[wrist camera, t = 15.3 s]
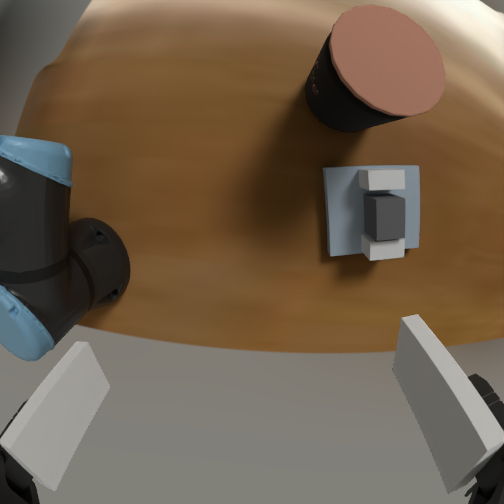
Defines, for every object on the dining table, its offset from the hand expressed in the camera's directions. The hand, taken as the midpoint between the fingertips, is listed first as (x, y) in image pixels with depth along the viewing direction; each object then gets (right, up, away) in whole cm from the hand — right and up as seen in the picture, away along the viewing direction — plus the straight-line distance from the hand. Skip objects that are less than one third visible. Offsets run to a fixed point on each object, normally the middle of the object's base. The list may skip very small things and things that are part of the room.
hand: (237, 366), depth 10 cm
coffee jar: (+13, +26, +23) cm, 37 cm away
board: (+18, +11, +27) cm, 34 cm away
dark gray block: (+18, +10, +26) cm, 33 cm away
